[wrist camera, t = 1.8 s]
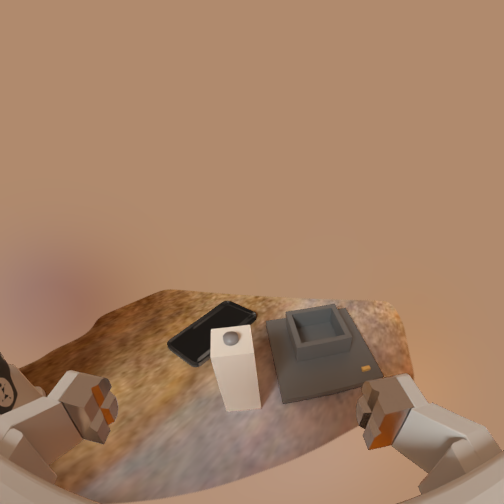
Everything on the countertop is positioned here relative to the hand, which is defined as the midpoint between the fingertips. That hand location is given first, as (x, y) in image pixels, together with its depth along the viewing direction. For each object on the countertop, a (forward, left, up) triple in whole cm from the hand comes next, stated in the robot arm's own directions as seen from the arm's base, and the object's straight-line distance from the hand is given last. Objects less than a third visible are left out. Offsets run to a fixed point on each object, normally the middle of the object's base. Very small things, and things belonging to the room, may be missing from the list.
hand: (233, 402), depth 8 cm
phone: (-5, +31, -25) cm, 40 cm away
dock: (+11, +23, -24) cm, 35 cm away
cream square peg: (-1, +17, -25) cm, 30 cm away
